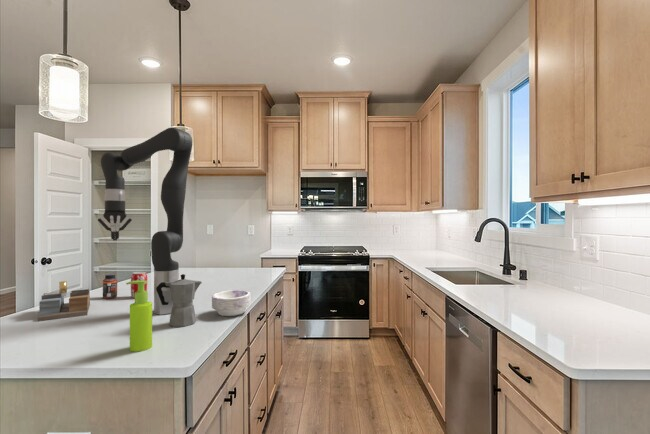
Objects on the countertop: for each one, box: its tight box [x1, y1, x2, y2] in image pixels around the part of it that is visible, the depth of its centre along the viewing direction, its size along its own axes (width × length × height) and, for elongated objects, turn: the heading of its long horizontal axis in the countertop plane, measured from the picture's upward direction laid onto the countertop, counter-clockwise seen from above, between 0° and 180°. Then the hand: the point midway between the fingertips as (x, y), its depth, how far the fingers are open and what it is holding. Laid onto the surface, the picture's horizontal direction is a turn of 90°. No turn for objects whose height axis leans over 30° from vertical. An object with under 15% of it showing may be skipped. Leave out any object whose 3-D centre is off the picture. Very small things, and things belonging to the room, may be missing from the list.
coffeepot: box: [156, 273, 203, 328], centre depth 123 cm, size 15×9×18 cm, turn 116°
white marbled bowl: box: [211, 289, 252, 317], centre depth 137 cm, size 15×15×8 cm
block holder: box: [37, 288, 91, 322], centre depth 138 cm, size 20×15×8 cm
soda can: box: [130, 271, 148, 299], centre depth 164 cm, size 7×7×12 cm
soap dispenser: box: [125, 280, 153, 352], centre depth 101 cm, size 6×7×20 cm
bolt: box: [43, 280, 68, 298], centre depth 136 cm, size 3×7×6 cm, turn 122°
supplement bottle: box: [102, 273, 118, 300], centre depth 162 cm, size 6×6×11 cm
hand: (115, 240), depth 145 cm, fingers closed
